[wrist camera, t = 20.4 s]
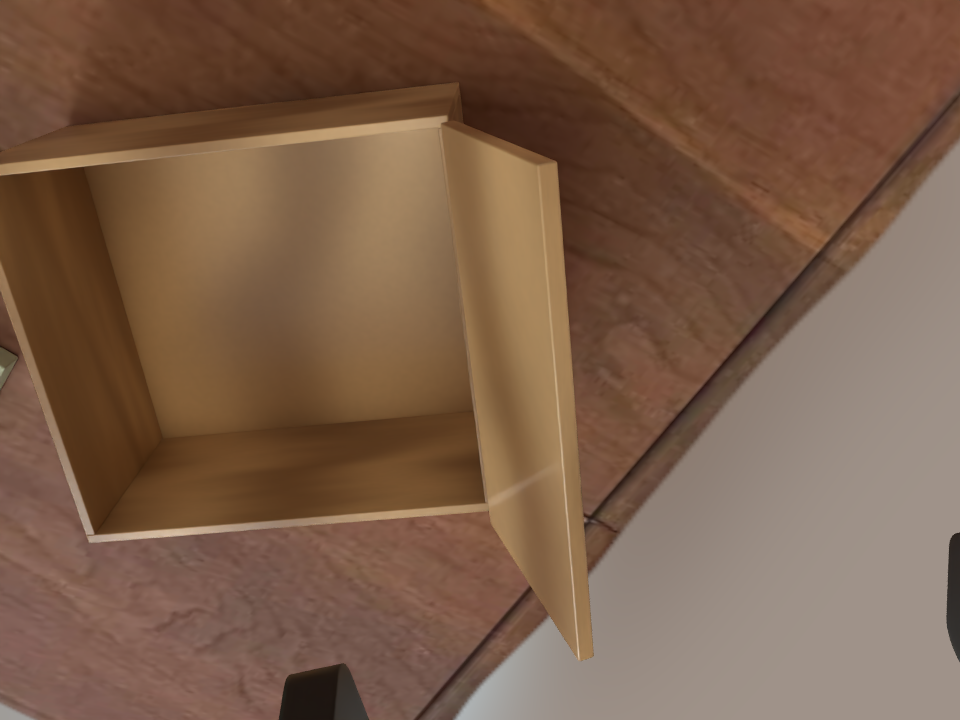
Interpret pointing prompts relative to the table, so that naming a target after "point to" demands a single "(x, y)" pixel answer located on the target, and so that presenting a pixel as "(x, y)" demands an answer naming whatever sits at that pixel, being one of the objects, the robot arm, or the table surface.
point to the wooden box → (247, 314)
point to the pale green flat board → (6, 364)
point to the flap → (522, 364)
